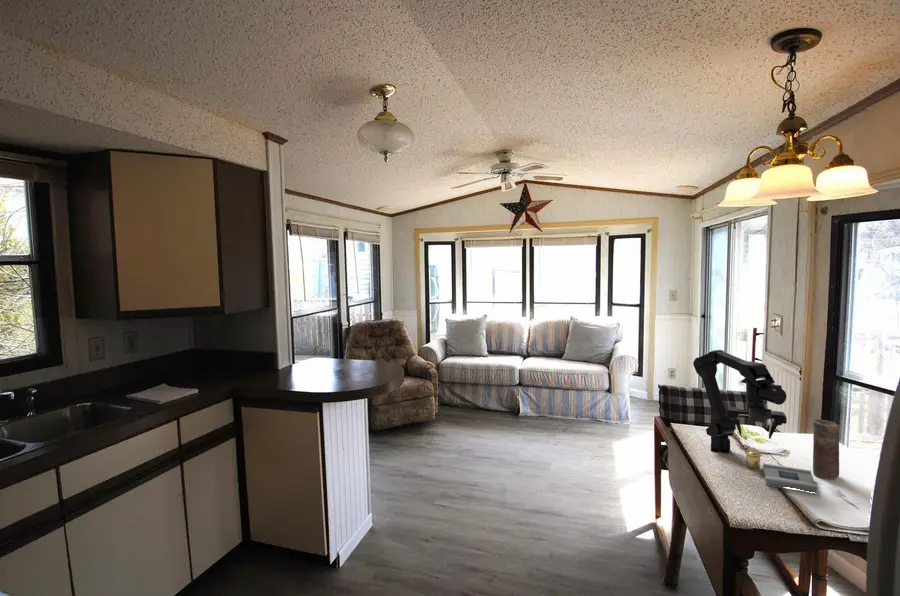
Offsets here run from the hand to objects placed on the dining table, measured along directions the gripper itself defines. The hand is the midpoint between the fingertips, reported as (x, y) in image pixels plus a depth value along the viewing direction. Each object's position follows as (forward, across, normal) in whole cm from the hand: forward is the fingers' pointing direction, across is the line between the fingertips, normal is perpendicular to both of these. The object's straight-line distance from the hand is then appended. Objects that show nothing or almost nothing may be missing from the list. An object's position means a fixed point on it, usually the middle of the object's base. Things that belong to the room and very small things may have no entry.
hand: (754, 436), depth 171 cm
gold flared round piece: (+12, 0, 0) cm, 12 cm away
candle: (+12, +22, +2) cm, 25 cm away
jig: (+12, +9, -9) cm, 17 cm away
